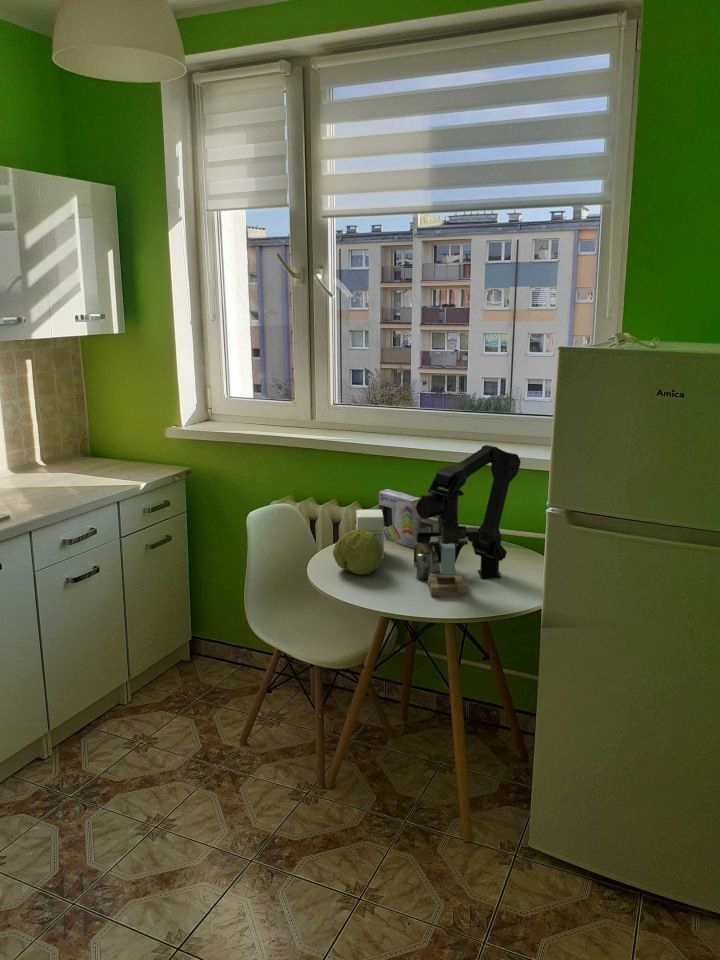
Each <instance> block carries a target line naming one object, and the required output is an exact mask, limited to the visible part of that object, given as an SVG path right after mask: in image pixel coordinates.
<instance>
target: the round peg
mask: <svg viewBox="0 0 720 960" xmlns="http://www.w3.org/2000/svg"><path fill="white" fill-rule="evenodd" d="M428 575H431V572H430V553H428V552H419V553H417V567H416V580H417V581H422V582H426V581H427V582H428Z"/></svg>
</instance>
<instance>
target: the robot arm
mask: <svg viewBox="0 0 720 960" xmlns="http://www.w3.org/2000/svg"><path fill="white" fill-rule="evenodd" d="M490 463H491V464H490ZM488 464H490V465H491V466H490V471H491V475H492V485H491V489H490V491H489V496H488V502H487V505H486V510H485V514H484V517H483V521H482V524H481V525H480V526H479V527H476V526H475V527H471V526H470V527H466V526H465V525H459V497H461V496H464V494H465V493H464V492H463V491H462V490H460V489H461V488H462V487H463V486H464V485H466V482H467V479H468V478H469V477H471V476H472V475H473V474H475V473H477V471H479V470H481V469H482V468H485V466H487V465H488ZM520 466H521V459H520V457H519V455H518V454H517V453H512V452H507V451H505V450H503V449H500V448H499V447H497V446H493V445H489V444H485V445H482V446H481V448H480V449H478V450H477V451H476V452H474V453H473V454H471V455H470V456H467V458H465V459H463V460H461V461H460V462H459V463H457V464H453V465H447V466H444V467H442V468H440V469H439V470H438V471H436V474H435V476H434V478H433V480H432V482H431V484H430V486H429V488H428V490H427V494H425V493H424V494H421V499H420V500H419V501H418V503H417V505H416V510H417V513H418V515H419V516H420V517H421V518H423V519H427V518H430V517H437V518H438V532H430V531H429V528H417V529H416V530H415V538H416V541H417V542H418V543H428V542H429V544H430V545H433V546H434V548H435V550H436V553H437V556H438V560H439V563H441V554H440V543H439V538H442V543H443V544H454V546H455V564H456V563H457V560H458V557H459V555H460V552H461V551H462V548H463V547H464V546H465V545H468V544H469V542H470V543H471V547H473V550H474V551H473V552H474V555H476V556H480V569H477V573H478V575H479V578H480V579H483V580H484V579H502V575H501V573H500V562H501V561H503V560H504V559H506V557H507V553H508V551H507V550H506V549H505V548H504V547H503V546H502V534H501V530H500V523H501V520H502V516H503V515H502V514H503V512H504V507H505V503H506V500H507V499H506V498H507V494H508V491H509V486H510V483H511V481H513V479H514V478H515V477H517V475H518V472H519V469H520ZM468 541H469V542H468Z"/></svg>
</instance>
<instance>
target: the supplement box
mask: <svg viewBox="0 0 720 960" xmlns="http://www.w3.org/2000/svg"><path fill="white" fill-rule="evenodd" d="M355 515H356V516H355V517H356V519H355V522H356V523H355V524H356V525H355V526H356V527H355V530H356V529H364V530H367V531H369V532H371V533H373V534H374V535H375V536H376V537H377V538H378V539H379V541H380V544H381V546H382V559H381V560H384V558H385V557H384V556H385V549H384V548H385V547H384V546H385V544H384V543H385V540H384V539H385V538H384V517H383V513H382V510H381V509H380V510H378V509H357V510H356V514H355Z"/></svg>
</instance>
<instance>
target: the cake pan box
mask: <svg viewBox="0 0 720 960" xmlns="http://www.w3.org/2000/svg"><path fill="white" fill-rule="evenodd" d="M420 499H422V497H421V498H420V497H416V496H413V495H409V494H407V493H405V492H401V491H400V492H398V491H395V490H392V489H388V488H386V489H384V490H380V491H378V504H379V505H378V509H377V510H380V509H381V510H382V513H383V517H384V539H385V540H387V541H391V542H393V543H397V544H400V545H403V546H406V547H407V548H412V549H414V519H416V518H419V517H420V516H419V515H418V513H417V510H416V505H417V503H418V501H419V500H420Z"/></svg>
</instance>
